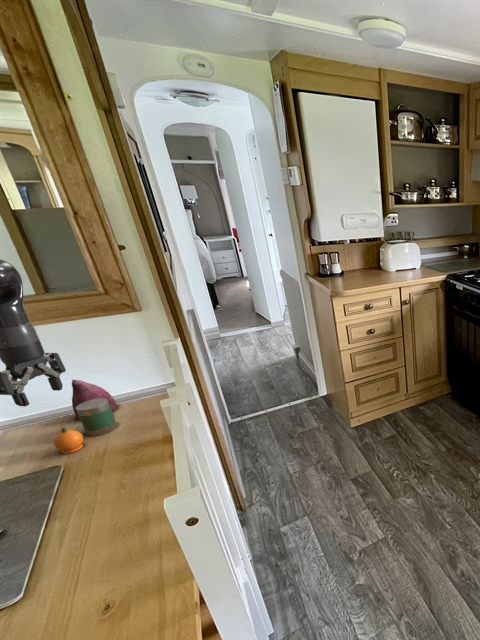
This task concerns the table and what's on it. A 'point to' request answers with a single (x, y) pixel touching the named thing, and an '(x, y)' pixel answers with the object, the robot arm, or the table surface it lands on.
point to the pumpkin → (68, 441)
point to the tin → (96, 416)
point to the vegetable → (89, 394)
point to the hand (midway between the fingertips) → (41, 397)
